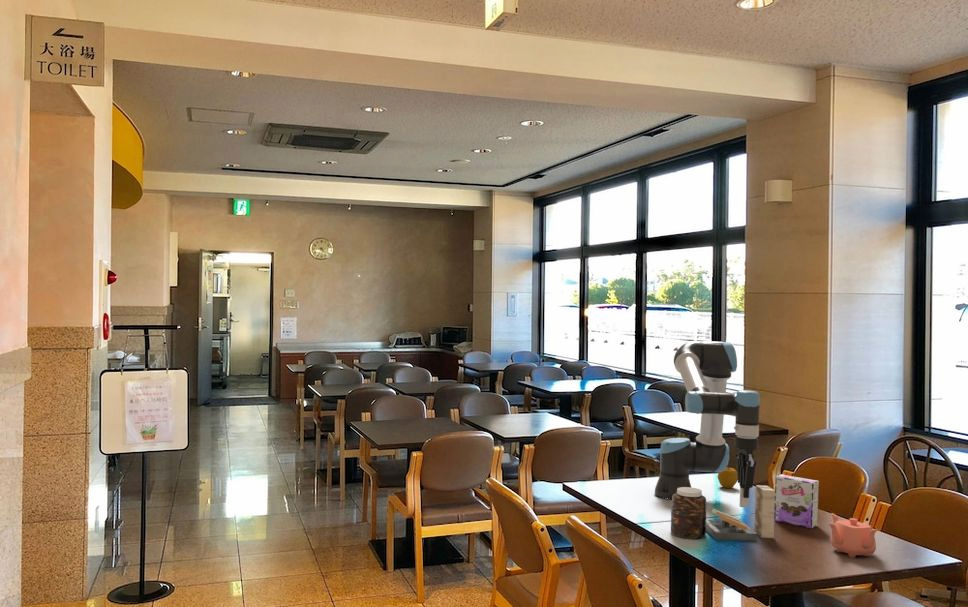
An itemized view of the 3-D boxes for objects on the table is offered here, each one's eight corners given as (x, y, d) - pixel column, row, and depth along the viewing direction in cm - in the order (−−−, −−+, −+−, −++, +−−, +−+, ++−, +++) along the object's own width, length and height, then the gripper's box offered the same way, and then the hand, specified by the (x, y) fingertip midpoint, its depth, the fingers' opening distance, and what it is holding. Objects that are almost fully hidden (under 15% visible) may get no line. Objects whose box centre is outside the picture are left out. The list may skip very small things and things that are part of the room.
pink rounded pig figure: (877, 563, 235) (878, 528, 235) (826, 555, 242) (827, 520, 242) (878, 551, 248) (879, 517, 248) (829, 543, 255) (830, 510, 255)
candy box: (773, 520, 281) (774, 475, 281) (779, 517, 285) (781, 473, 285) (811, 529, 272) (813, 482, 272) (817, 526, 276) (819, 480, 276)
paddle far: (711, 511, 267) (712, 508, 267) (735, 521, 267) (736, 518, 267) (714, 514, 264) (716, 511, 264) (738, 524, 264) (740, 520, 264)
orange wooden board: (718, 516, 260) (719, 513, 260) (742, 527, 260) (743, 524, 260) (721, 519, 257) (722, 516, 257) (745, 530, 257) (747, 527, 257)
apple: (734, 491, 327) (735, 470, 327) (714, 488, 331) (715, 467, 331) (740, 487, 334) (740, 467, 334) (720, 484, 338) (721, 464, 338)
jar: (712, 539, 255) (713, 494, 255) (678, 539, 253) (680, 494, 253) (696, 528, 267) (698, 485, 267) (664, 529, 265) (666, 485, 265)
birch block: (754, 531, 266) (755, 485, 266) (765, 531, 266) (767, 485, 266) (761, 537, 259) (763, 490, 259) (773, 538, 259) (775, 490, 259)
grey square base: (701, 526, 270) (702, 516, 270) (741, 528, 270) (741, 517, 270) (715, 539, 255) (715, 528, 255) (757, 540, 255) (757, 530, 255)
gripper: (729, 433, 265) (726, 501, 265) (742, 439, 252) (739, 511, 252) (750, 433, 265) (748, 502, 265) (764, 440, 252) (762, 512, 252)
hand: (744, 506), depth 259 cm, fingers closed
